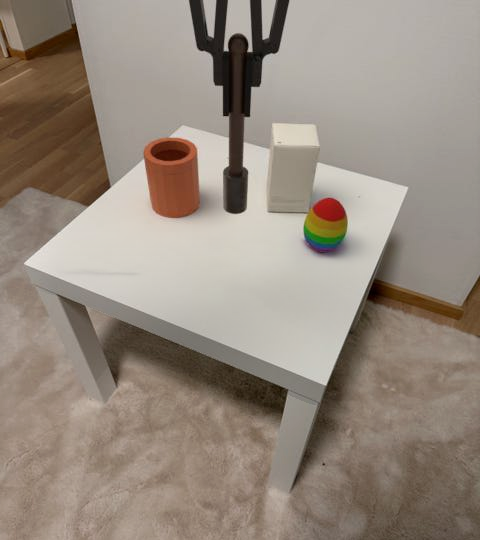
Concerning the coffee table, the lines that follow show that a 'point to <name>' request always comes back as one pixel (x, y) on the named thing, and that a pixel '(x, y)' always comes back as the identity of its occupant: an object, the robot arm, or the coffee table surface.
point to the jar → (172, 176)
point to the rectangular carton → (292, 167)
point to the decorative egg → (325, 225)
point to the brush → (236, 129)
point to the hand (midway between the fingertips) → (236, 111)
